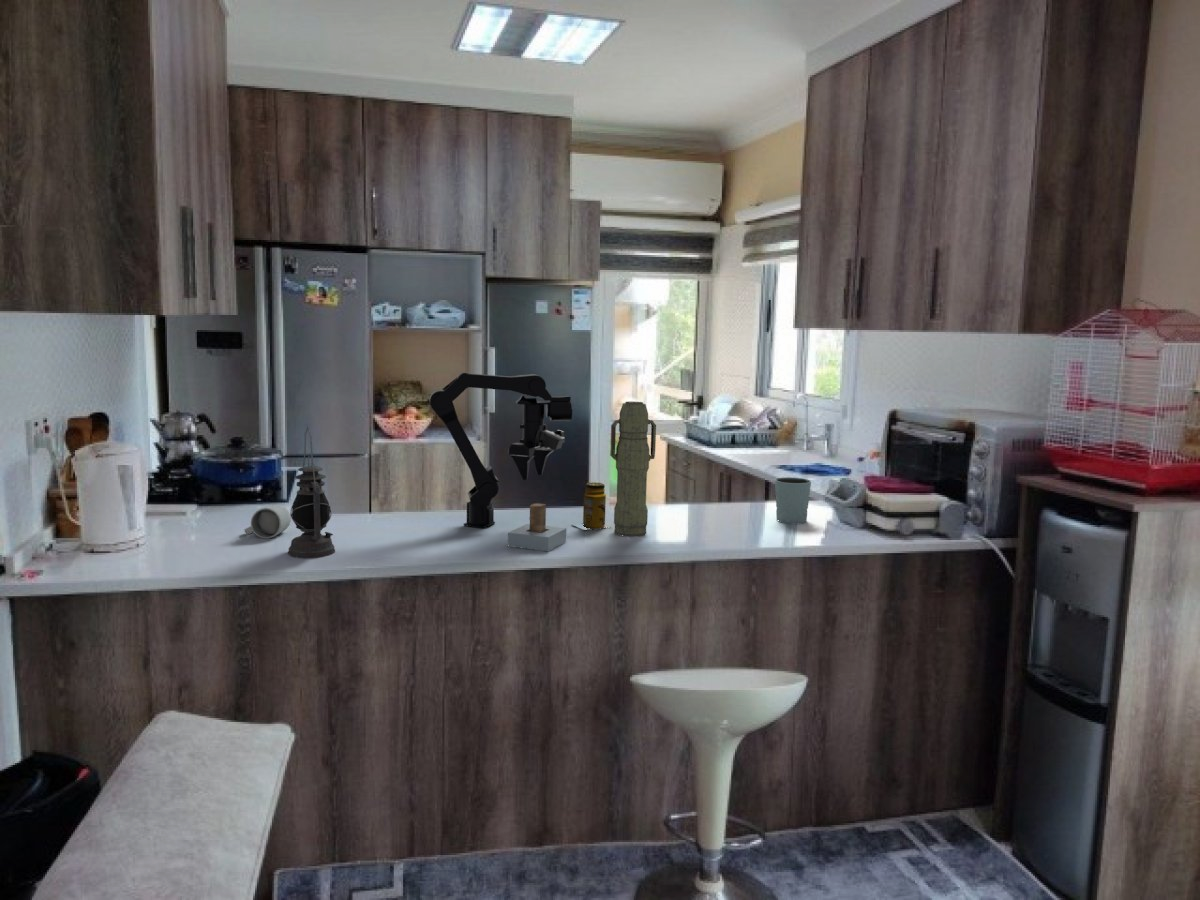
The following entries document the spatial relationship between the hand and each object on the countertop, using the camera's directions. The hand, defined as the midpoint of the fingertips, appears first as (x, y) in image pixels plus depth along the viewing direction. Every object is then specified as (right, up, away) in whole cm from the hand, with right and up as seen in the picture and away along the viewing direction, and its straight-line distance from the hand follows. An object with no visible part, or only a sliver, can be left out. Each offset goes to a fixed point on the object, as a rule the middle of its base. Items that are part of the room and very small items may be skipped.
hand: (532, 477), depth 239 cm
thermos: (+26, -15, -6) cm, 31 cm away
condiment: (+16, -14, 0) cm, 21 cm away
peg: (+3, -16, -20) cm, 26 cm away
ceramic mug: (-66, -14, -18) cm, 70 cm away
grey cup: (+74, -13, +14) cm, 76 cm away
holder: (+3, -16, -20) cm, 26 cm away
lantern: (-49, -17, -34) cm, 62 cm away
